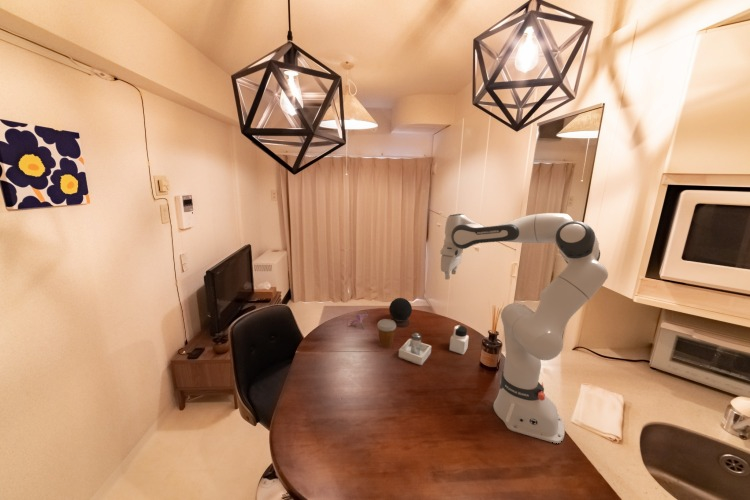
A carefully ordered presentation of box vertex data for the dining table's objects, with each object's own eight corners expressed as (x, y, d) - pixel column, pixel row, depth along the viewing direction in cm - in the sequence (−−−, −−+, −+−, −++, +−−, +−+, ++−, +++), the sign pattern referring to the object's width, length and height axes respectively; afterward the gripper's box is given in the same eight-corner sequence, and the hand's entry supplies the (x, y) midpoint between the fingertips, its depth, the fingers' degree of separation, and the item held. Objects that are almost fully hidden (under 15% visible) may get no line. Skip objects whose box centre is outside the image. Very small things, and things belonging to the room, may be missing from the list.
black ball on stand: (384, 322, 168) (384, 298, 165) (397, 315, 178) (398, 292, 175) (402, 330, 160) (403, 305, 157) (415, 322, 170) (416, 298, 166)
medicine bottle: (467, 348, 145) (470, 326, 142) (463, 355, 139) (466, 332, 136) (453, 343, 148) (455, 322, 146) (449, 350, 143) (451, 328, 140)
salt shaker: (412, 349, 140) (414, 330, 138) (421, 352, 138) (422, 333, 135) (409, 354, 137) (410, 334, 134) (417, 357, 135) (419, 337, 132)
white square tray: (430, 353, 140) (431, 345, 139) (421, 365, 130) (421, 357, 129) (409, 345, 146) (409, 338, 145) (398, 357, 136) (398, 349, 135)
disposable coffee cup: (383, 337, 152) (384, 316, 150) (398, 343, 147) (399, 322, 144) (372, 345, 145) (373, 323, 142) (388, 352, 140) (389, 329, 137)
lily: (371, 324, 168) (366, 308, 169) (373, 326, 156) (367, 309, 158) (352, 332, 166) (346, 316, 167) (352, 334, 155) (346, 317, 156)
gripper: (453, 243, 145) (450, 269, 148) (439, 251, 128) (436, 280, 131) (466, 245, 141) (463, 272, 145) (453, 253, 124) (450, 283, 128)
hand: (450, 276), depth 138 cm, fingers open, 8 cm apart
